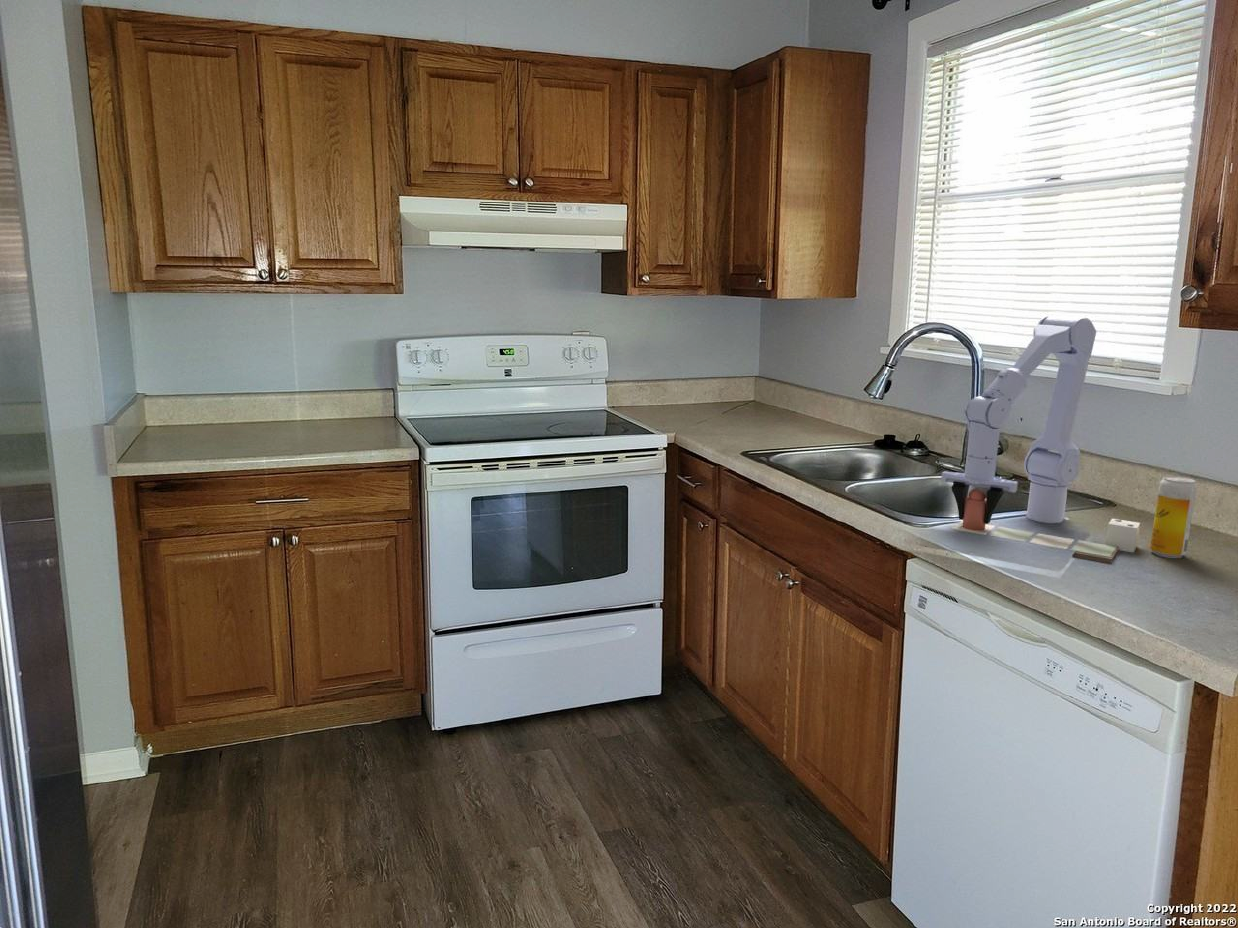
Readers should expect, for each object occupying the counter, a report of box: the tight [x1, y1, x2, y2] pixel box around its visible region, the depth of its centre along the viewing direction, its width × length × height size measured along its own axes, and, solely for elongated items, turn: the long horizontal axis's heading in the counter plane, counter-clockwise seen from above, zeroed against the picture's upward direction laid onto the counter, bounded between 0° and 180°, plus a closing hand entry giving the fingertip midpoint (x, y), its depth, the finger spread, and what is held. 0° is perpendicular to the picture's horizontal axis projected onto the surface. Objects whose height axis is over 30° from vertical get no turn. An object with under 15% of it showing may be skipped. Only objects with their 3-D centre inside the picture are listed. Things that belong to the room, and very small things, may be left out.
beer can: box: [1149, 475, 1198, 559], centre depth 180 cm, size 6×6×15 cm
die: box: [1104, 518, 1141, 553], centre depth 185 cm, size 5×5×5 cm
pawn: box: [962, 488, 987, 530], centre depth 192 cm, size 4×4×8 cm
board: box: [950, 520, 1120, 564], centre depth 186 cm, size 10×30×1 cm, turn 55°
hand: (974, 520), depth 192 cm, fingers closed on pawn, 4 cm apart
